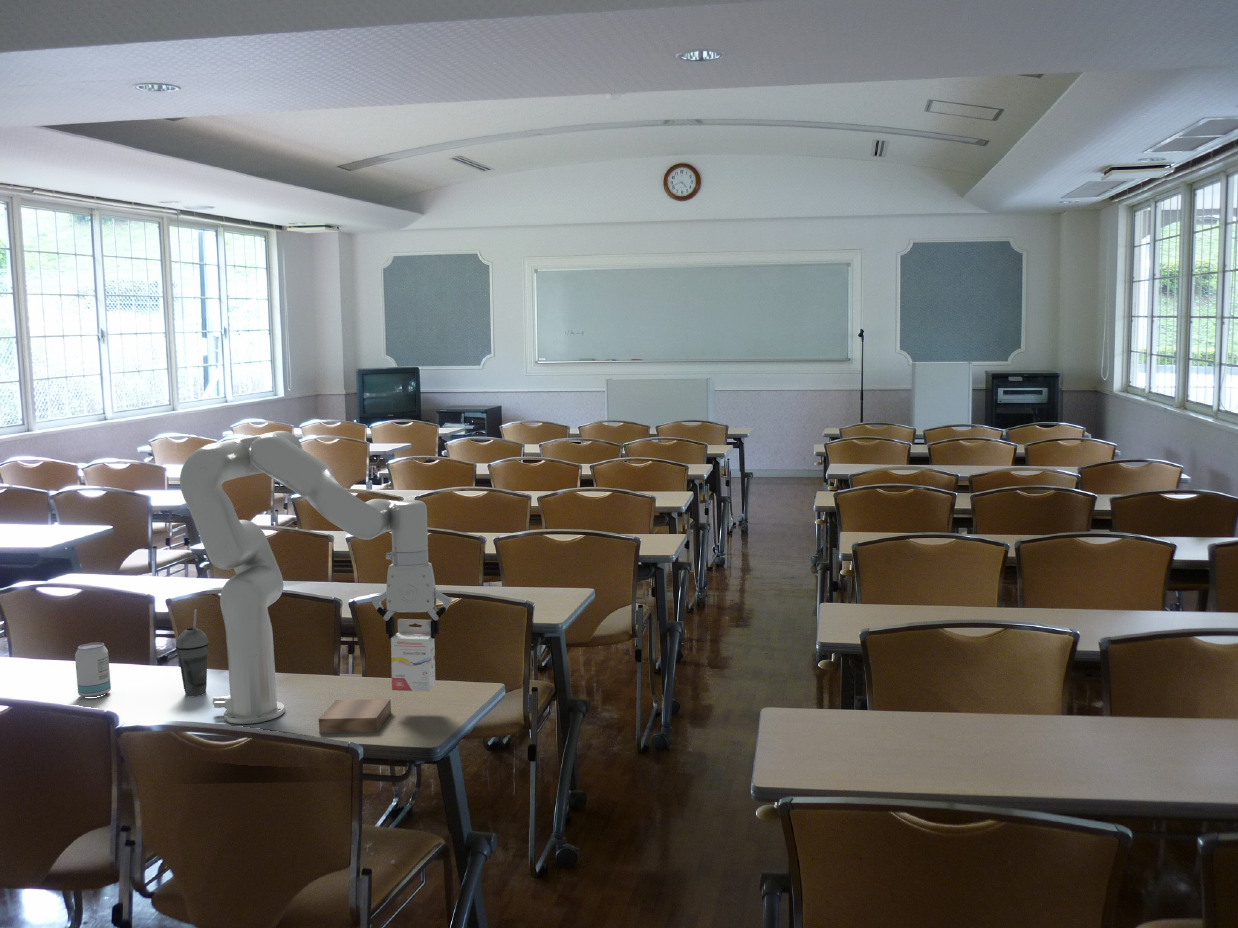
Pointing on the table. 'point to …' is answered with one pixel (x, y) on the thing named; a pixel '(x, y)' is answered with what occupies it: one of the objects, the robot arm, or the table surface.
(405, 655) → the ink cartridge box
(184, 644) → the beverage cup
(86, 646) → the beverage can
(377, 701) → the walnut base plate
